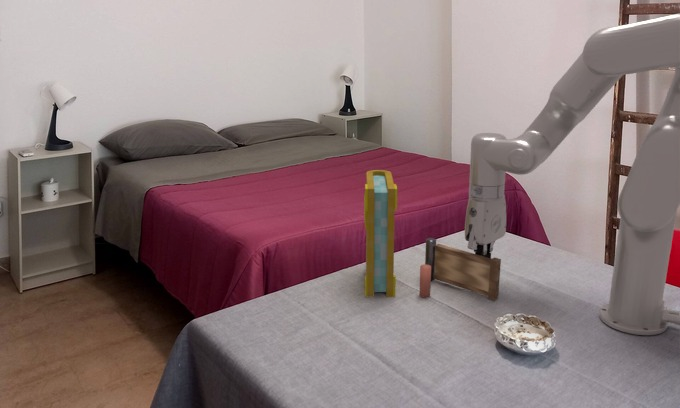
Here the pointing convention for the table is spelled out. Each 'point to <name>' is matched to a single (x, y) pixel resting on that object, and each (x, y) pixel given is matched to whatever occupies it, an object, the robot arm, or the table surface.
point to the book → (380, 232)
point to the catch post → (425, 281)
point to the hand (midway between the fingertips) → (482, 268)
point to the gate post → (430, 255)
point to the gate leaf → (467, 270)
